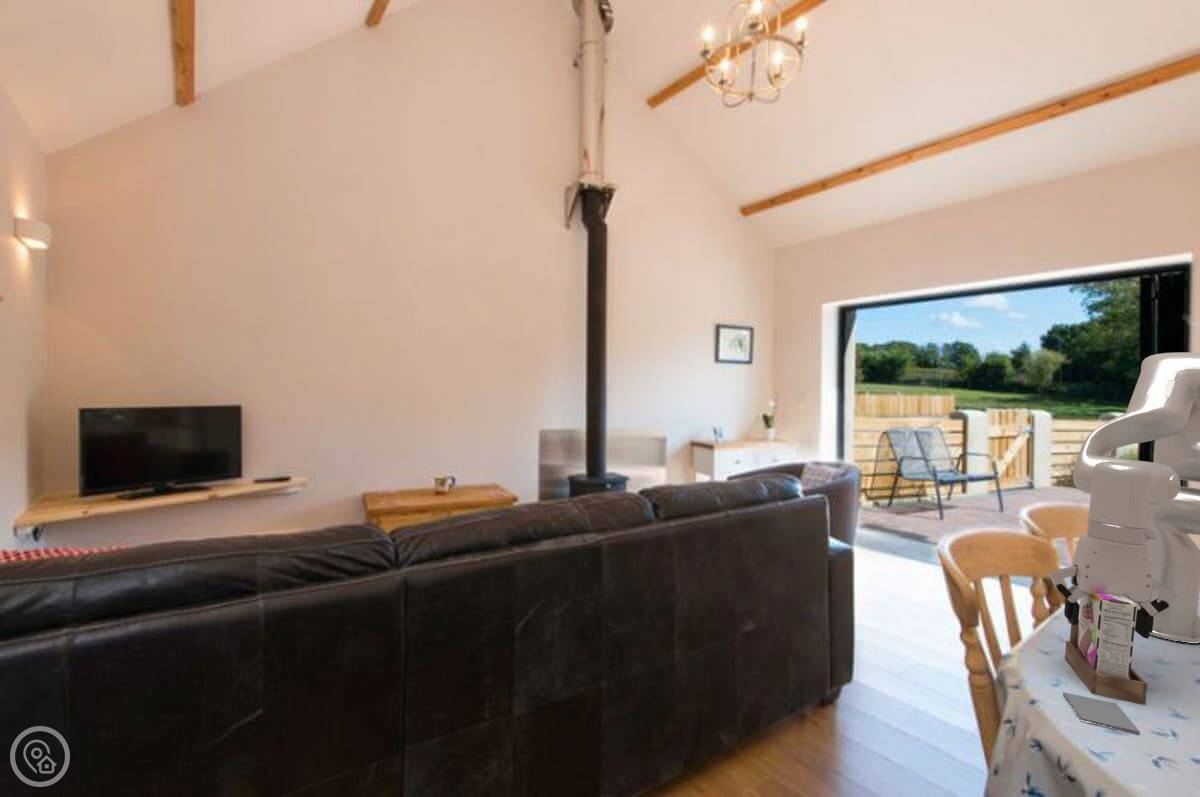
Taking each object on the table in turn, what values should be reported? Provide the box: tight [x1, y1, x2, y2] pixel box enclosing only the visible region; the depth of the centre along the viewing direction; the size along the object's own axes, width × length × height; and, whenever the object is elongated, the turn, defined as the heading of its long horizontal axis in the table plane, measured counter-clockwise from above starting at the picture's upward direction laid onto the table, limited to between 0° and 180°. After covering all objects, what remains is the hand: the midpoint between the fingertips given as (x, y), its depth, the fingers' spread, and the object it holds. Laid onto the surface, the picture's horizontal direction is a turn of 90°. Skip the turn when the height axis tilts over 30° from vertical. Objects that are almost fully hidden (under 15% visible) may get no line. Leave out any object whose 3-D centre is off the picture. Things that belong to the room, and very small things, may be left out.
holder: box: [1064, 620, 1148, 705], centre depth 100 cm, size 7×13×8 cm, turn 156°
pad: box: [1062, 691, 1141, 736], centre depth 90 cm, size 7×8×1 cm
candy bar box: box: [1077, 593, 1137, 679], centre depth 100 cm, size 11×5×16 cm, turn 153°
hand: (1106, 628), depth 100 cm, fingers open, 9 cm apart
